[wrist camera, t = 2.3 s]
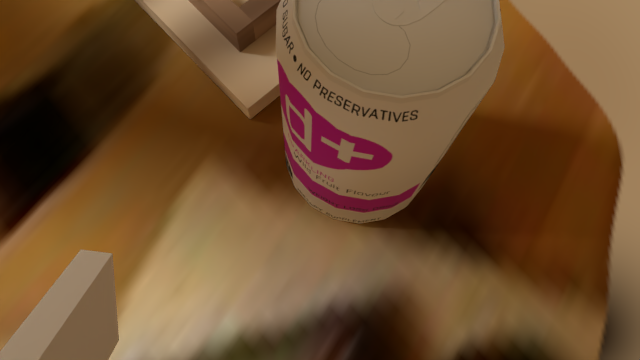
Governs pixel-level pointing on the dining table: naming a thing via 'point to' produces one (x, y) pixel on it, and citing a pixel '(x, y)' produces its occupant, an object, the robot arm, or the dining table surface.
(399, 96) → the supplement can
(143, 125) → the dining table surface
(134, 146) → the dining table surface
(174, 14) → the oak stand
